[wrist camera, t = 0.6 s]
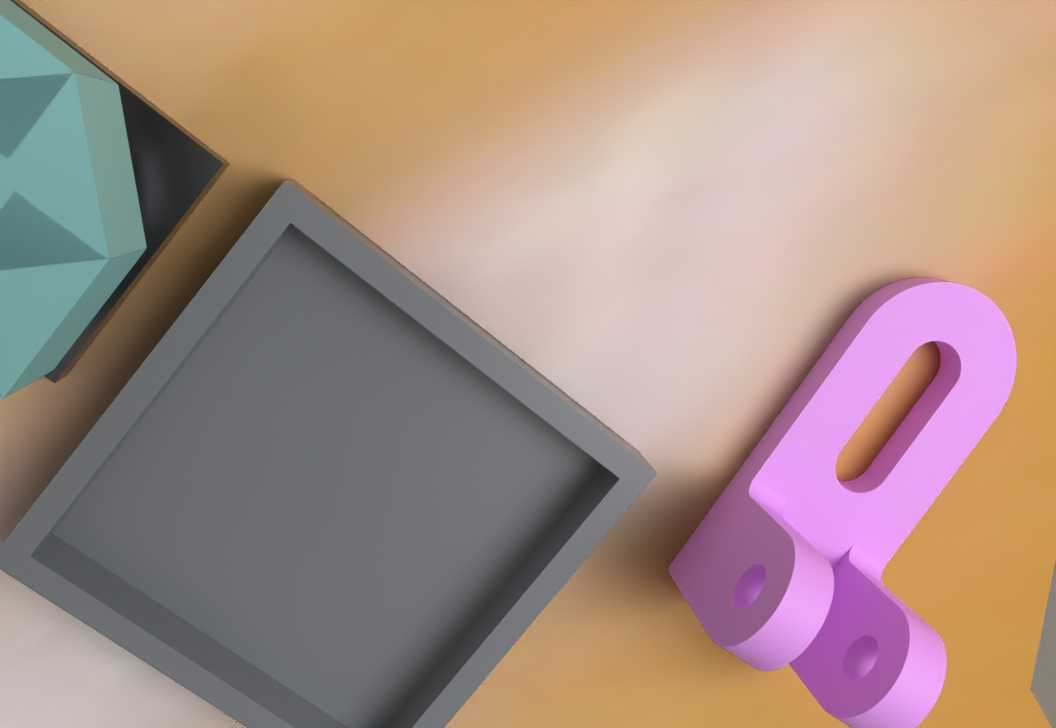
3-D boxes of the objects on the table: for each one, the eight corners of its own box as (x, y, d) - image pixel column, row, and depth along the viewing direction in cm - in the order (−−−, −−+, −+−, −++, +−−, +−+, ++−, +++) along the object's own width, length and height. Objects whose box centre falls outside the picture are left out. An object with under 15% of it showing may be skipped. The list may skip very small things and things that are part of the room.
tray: (378, 764, 33) (375, 809, 31) (21, 531, 30) (-12, 561, 28) (639, 451, 32) (656, 473, 30) (294, 179, 29) (284, 180, 27)
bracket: (793, 647, 34) (887, 766, 28) (665, 567, 33) (731, 671, 26) (1024, 338, 33) (1181, 382, 26) (899, 243, 32) (1031, 264, 25)
